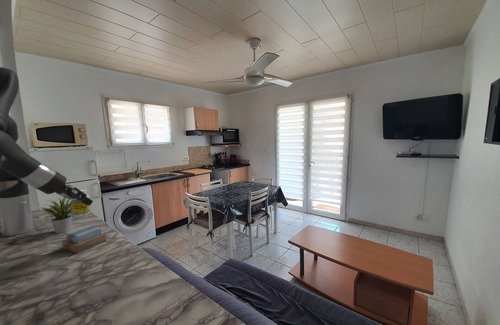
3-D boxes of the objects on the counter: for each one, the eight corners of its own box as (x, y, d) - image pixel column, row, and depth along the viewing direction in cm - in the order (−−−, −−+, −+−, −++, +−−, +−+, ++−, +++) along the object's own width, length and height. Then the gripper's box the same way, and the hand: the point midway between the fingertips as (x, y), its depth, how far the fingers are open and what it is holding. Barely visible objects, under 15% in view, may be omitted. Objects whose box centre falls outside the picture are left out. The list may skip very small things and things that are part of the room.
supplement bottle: (91, 211, 82) (89, 188, 81) (89, 214, 78) (87, 191, 77) (74, 213, 79) (72, 190, 78) (71, 217, 75) (69, 192, 74)
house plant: (76, 221, 103) (73, 191, 102) (91, 226, 97) (88, 193, 96) (38, 232, 91) (34, 197, 89) (52, 238, 85) (48, 201, 83)
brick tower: (62, 247, 77) (61, 233, 77) (91, 236, 86) (90, 223, 86) (77, 253, 73) (76, 237, 73) (106, 240, 83) (104, 227, 82)
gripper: (64, 170, 67) (104, 196, 79) (42, 168, 73) (83, 193, 85) (45, 189, 63) (90, 213, 75) (23, 185, 68) (69, 208, 80)
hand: (86, 202), depth 80 cm, fingers closed on supplement bottle, 5 cm apart
